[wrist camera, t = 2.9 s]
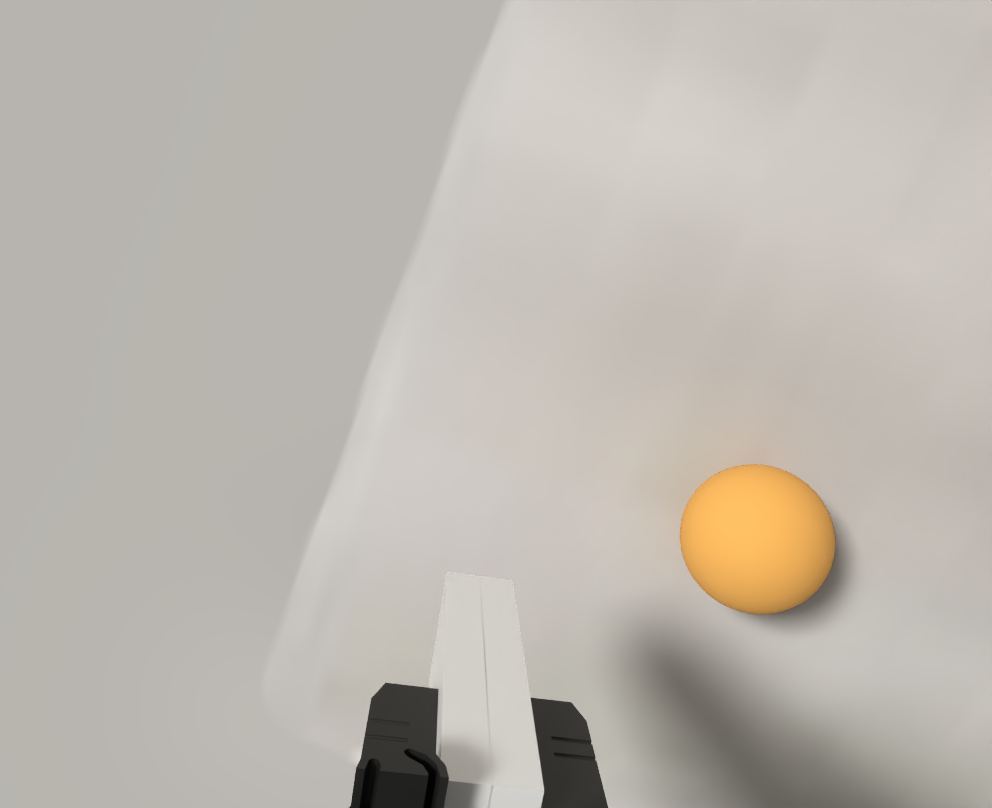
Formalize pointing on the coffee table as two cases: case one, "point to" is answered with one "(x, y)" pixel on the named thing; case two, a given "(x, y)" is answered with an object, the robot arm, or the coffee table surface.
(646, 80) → the coffee table surface
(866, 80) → the coffee table surface
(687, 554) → the ball
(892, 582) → the coffee table surface
